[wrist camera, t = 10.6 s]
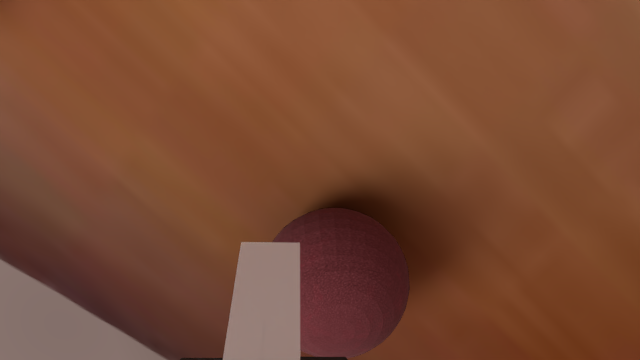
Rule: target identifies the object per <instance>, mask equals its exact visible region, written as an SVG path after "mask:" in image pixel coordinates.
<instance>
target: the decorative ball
mask: <svg viewBox="0 0 640 360" xmlns="http://www.w3.org/2000/svg"><path fill="white" fill-rule="evenodd" d="M273 242H285V243H300V350H301V351H303V352H305V353H307V354H310V355H313V356H316V357H346V358H351V357H355V356H358V355H361V354H363V353H365V352H368V351H369V350H371V349H373V348H374V347H376V346H377V345H379V344H380V343H382V342H383V341H384V340H385V339H386V338H387V337H388V336H389V335H390V334H391V333H392V332H393V330H394V329H395V327H396V326H397V324H398V323H399V321H400V320H401V318H402V315H403V313H404V311H405V308H406V304H407V299H408V294H409V289H410V288H409V274H408V266H407V263H406V260H405V257H404V254H403V252H402V250H401V248H400V246H399V245H398V243H397V241H396V240H395V238H394V237H393V236H392V235H391V234H390V233H389V232H388V231H387V230H386V229H385V228H384V227H383V226H382V225H381V224H380V223H379V222H377V221H376V220H374V219H373V218H371V217H369V216H367V215H365V214H362V213H360V212H357V211H353V210H349V209H345V208H326V209H319V210H316V211H312V212H309V213H307V214H305V215H303V216H301V217H299V218H297V219H295V220H293V221H292V222H291V223H289V224H288V225H287V226H285V227H284V228H283V229H282V231H281V232H280V233H279V234H278V235H277V236H276V238H275V239H274V240H273Z"/></svg>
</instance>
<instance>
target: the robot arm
mask: <svg viewBox="0 0 640 360" xmlns="http://www.w3.org/2000/svg"><path fill="white" fill-rule="evenodd" d="M180 360H347V358H346V357H300V243H285V242H241V247H240V253H239V259H238V266H237V272H236V279H235V285H234V291H233V298H232V304H231V310H230V317H229V323H228V329H227V336H226V342H225V348H224V355H223V358H181V359H180Z"/></svg>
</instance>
